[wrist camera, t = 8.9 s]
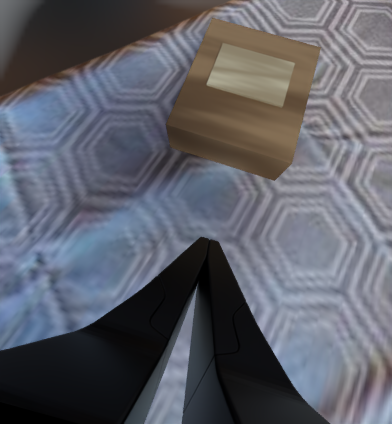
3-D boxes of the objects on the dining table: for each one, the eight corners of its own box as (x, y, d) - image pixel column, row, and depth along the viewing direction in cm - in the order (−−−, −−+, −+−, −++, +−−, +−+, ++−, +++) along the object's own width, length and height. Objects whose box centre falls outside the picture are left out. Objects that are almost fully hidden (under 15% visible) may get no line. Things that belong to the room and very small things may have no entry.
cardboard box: (292, 162, 17) (321, 45, 20) (165, 122, 17) (212, 15, 20) (273, 182, 21) (299, 82, 24) (170, 149, 21) (209, 56, 24)
